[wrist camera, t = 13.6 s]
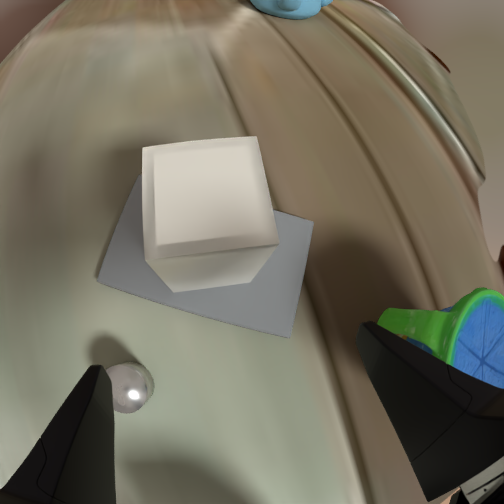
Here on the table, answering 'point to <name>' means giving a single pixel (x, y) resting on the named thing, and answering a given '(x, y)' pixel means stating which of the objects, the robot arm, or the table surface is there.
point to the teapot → (291, 7)
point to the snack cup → (458, 333)
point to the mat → (217, 298)
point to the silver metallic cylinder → (130, 386)
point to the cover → (206, 212)
